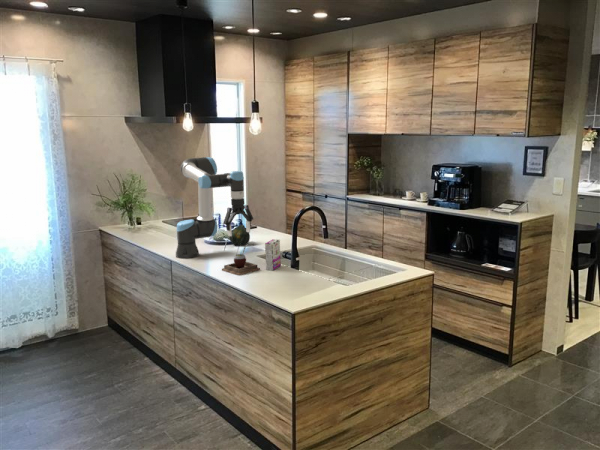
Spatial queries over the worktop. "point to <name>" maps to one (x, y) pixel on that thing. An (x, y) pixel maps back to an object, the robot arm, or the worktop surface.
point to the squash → (239, 235)
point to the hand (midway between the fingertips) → (239, 234)
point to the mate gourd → (240, 260)
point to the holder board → (247, 268)
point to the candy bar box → (272, 254)
